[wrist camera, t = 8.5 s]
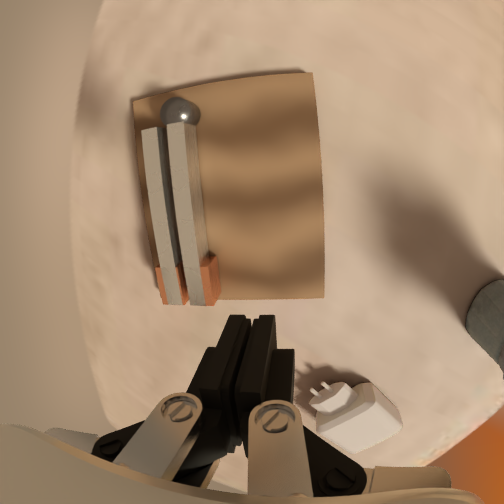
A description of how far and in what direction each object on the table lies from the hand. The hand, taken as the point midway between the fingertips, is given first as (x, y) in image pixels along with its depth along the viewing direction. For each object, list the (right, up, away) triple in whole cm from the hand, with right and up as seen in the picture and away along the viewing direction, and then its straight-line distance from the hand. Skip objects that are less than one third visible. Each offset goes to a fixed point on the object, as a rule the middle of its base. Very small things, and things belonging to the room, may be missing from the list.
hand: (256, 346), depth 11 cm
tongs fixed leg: (-8, +7, +17) cm, 21 cm away
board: (-2, +9, +17) cm, 20 cm away
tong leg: (-6, +9, +17) cm, 20 cm away
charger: (+13, -17, +24) cm, 32 cm away
